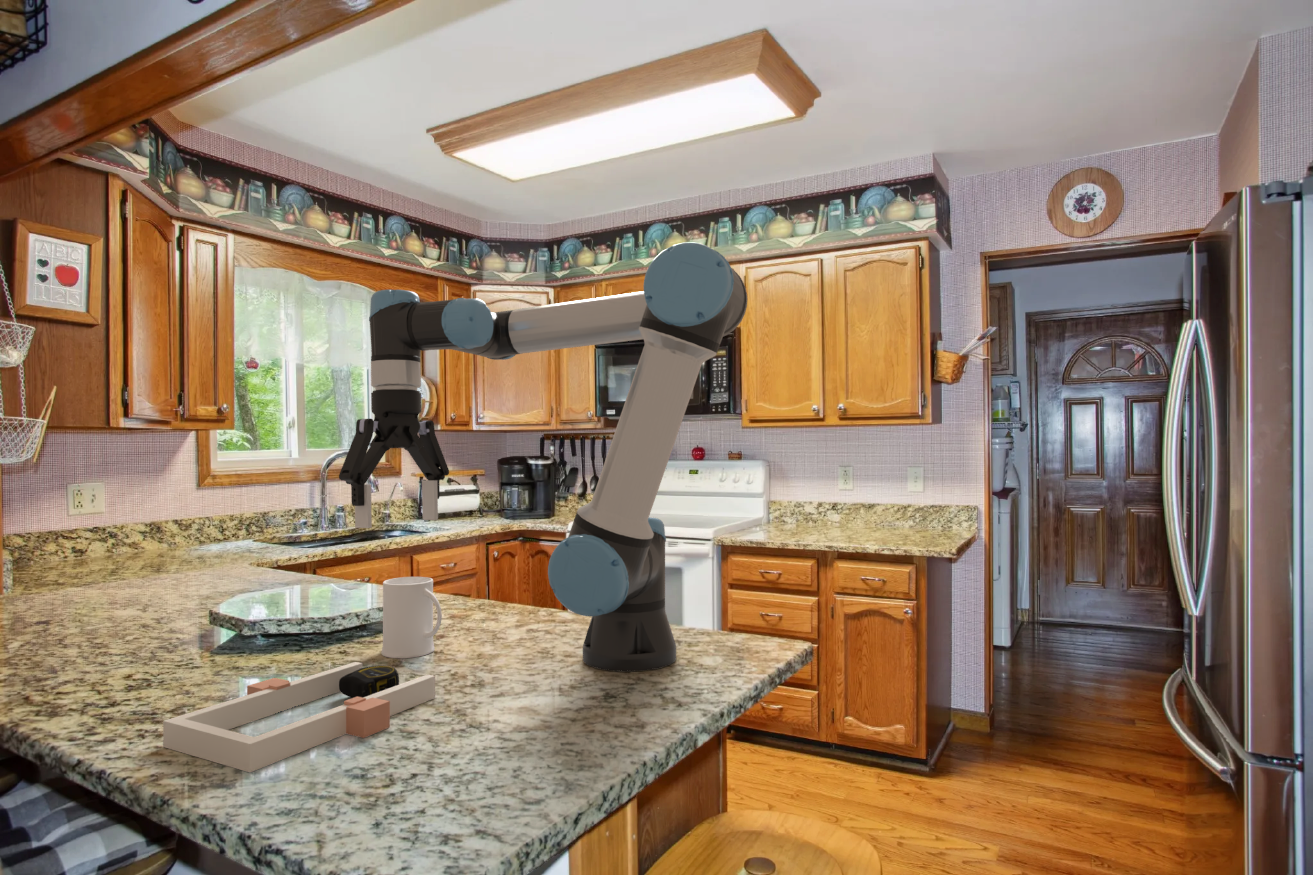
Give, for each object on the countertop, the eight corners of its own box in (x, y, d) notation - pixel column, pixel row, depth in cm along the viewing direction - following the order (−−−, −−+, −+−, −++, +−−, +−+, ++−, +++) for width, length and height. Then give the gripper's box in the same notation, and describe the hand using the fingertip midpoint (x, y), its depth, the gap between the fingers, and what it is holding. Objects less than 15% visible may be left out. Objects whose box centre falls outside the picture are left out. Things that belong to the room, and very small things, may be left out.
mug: (457, 653, 130) (457, 581, 131) (414, 664, 124) (414, 588, 124) (413, 642, 137) (413, 574, 138) (370, 653, 130) (370, 581, 131)
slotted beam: (451, 701, 106) (451, 675, 106) (268, 777, 81) (268, 745, 81) (340, 679, 116) (341, 656, 116) (148, 742, 91) (148, 713, 91)
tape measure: (336, 699, 107) (336, 672, 107) (382, 687, 112) (381, 661, 112) (362, 710, 103) (362, 681, 103) (408, 697, 108) (408, 670, 108)
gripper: (436, 394, 136) (438, 516, 136) (312, 386, 115) (314, 530, 114) (469, 392, 133) (471, 517, 132) (346, 383, 111) (349, 532, 111)
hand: (398, 523), depth 123 cm, fingers open, 13 cm apart
